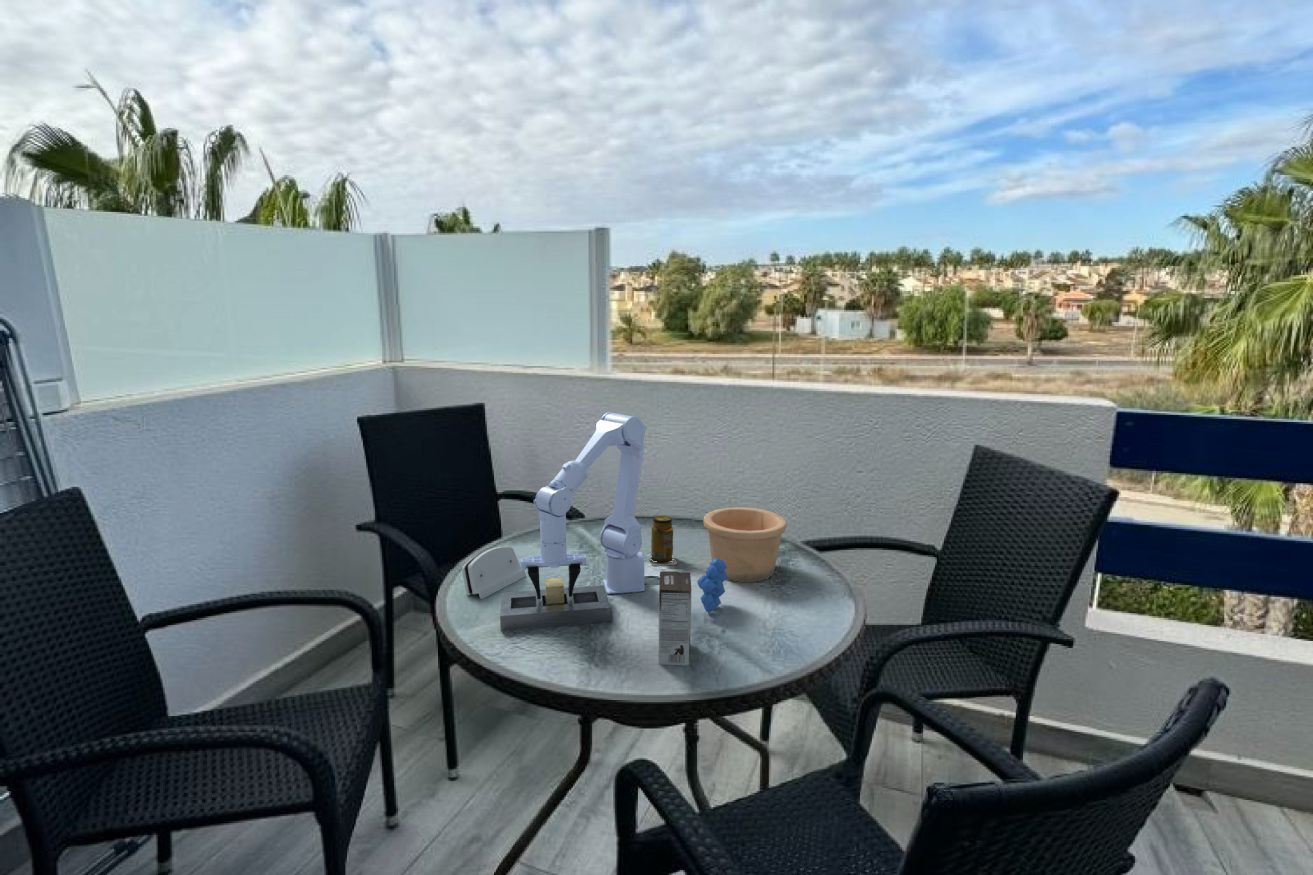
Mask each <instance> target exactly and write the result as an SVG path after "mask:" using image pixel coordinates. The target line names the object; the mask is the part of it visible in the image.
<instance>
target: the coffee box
mask: <svg viewBox="0 0 1313 875" xmlns="http://www.w3.org/2000/svg"><path fill="white" fill-rule="evenodd" d="M691 578H692V577H691V572H689V571H687V572H685V571H676V570H675V571H672V570H671V571H669V570H667V571H666V570H665V571H664V570H663V571H662V570H661V571H659V586H658V590H659V591H658V665H661V666H663V665H664V666H666V665H667V666H690V661H691V659H690V658H691V634H692V633H691V629H692V627H691V626H692V622H691V621H692V580H691Z"/></svg>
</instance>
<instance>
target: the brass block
mask: <svg viewBox="0 0 1313 875" xmlns="http://www.w3.org/2000/svg"><path fill="white" fill-rule="evenodd" d="M544 580H545V581H544V583H545V584H544V587H545V589H544V590H545V592H546V606H552V605H564V588H565V583H564V577H554V578H553V577H552V578H551V577H550V578H545V579H544Z"/></svg>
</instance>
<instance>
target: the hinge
mask: <svg viewBox="0 0 1313 875" xmlns="http://www.w3.org/2000/svg"><path fill="white" fill-rule="evenodd" d="M461 573H462V578H463V582H464V588H465V593H466V595H467V596H470V595H477V594H478V595H479V599H481V600H482V599H485V598H486V597H488V596H491V595H492V594H495V593H496V592H498V591H499V590H502V589H504V588H505V587H508V586H509V585H512V584H514V583H515V582H517V581H520V580H522V579H524V578H525V577H527V574H526V571H525V570H521V563H520V562H519V560H518V558H517V556H516V553H515V551H514V549H513V547H510V546H497V547H493V548H489V549H485V550H483V551H481V552H478V553H477V554H475V555H474V556H472V557H471V558H470V559H469V560H468V561H467V562H465V563H464V565H462V567H461Z"/></svg>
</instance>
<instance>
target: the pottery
mask: <svg viewBox="0 0 1313 875" xmlns="http://www.w3.org/2000/svg"><path fill="white" fill-rule="evenodd" d="M702 522H703V526H704V528H705V529H706V530H707V532H708V541H709V550H710V557H711V558H710V559H711V561H712V560H713V559H715V558H719V559H721V560H723V561H724V562H725V565H726V567H727V568H726V569H725V570H724V571H725V573H726V575H727V579H728V581H731V580H733V582H736V581H738V582H737V583H756V582H755V581H759V580H763V581H765V580H764V579H766V580H768V579H770V578H771V577H773V576H774V574H775V572H774V570H776V565H777V561H778V560H777V559H778V554H779V550H780V549H779V548H780V544H781V538H782V534H785V532H786V529H788V527H787V526H788V522H787V521H786V519H785V517H783V516H782V515H779V514H778V513H776V512H772V511H769V510H766V509H762V508H761V509H760V508H755V507H744V506H743V507H738V506H737V507H736V506H735V507H724V508H719V509H718V508H717V509H714V510H712V511H710V512H707V513H706V514H705V515H704V517H703V521H702ZM773 573H774V574H773ZM772 575H773V576H772ZM770 576H771V577H770ZM769 577H770V578H769ZM767 578H768V579H767ZM727 579H726V580H727ZM759 582H760V581H759Z"/></svg>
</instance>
